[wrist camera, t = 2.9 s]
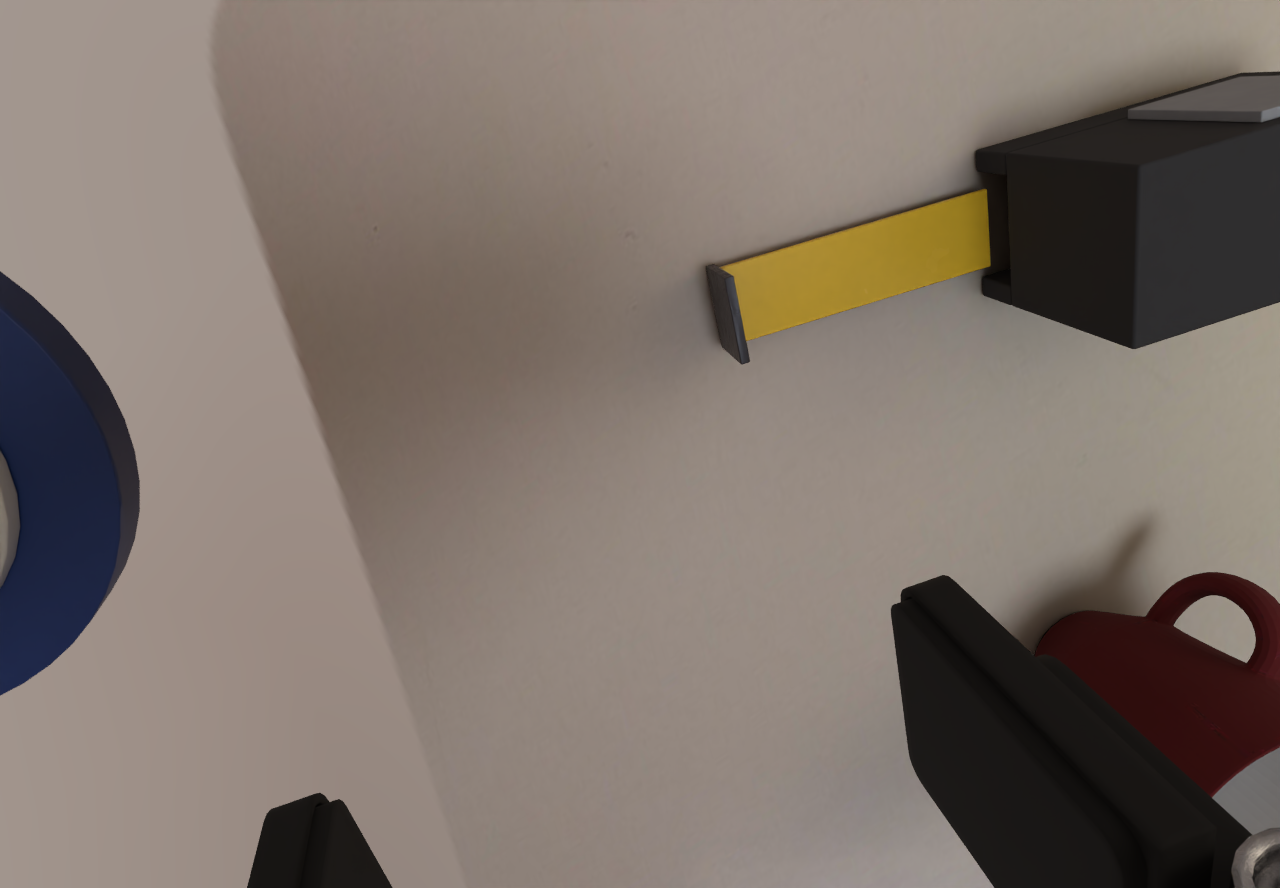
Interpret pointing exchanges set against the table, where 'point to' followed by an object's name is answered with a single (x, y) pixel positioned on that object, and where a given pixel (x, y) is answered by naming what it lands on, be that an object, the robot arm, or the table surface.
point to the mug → (1191, 690)
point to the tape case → (1147, 213)
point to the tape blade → (848, 269)
